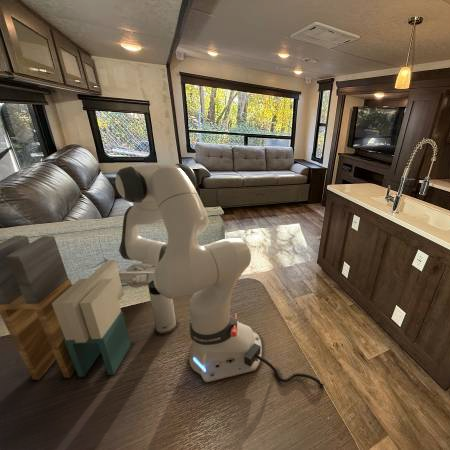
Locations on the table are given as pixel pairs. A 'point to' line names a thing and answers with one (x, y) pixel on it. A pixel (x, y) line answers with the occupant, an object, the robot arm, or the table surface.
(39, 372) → the book stand
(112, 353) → the cream teal blocky piece
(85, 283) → the white book
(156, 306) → the travel mug
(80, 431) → the table surface
